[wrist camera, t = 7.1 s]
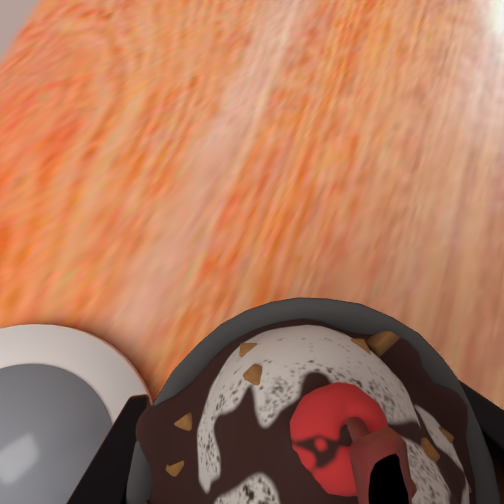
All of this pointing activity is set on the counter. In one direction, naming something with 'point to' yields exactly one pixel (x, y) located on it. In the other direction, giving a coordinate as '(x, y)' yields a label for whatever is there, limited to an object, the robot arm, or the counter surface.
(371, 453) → the sundae
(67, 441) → the serving plate
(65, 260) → the counter surface
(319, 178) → the counter surface
